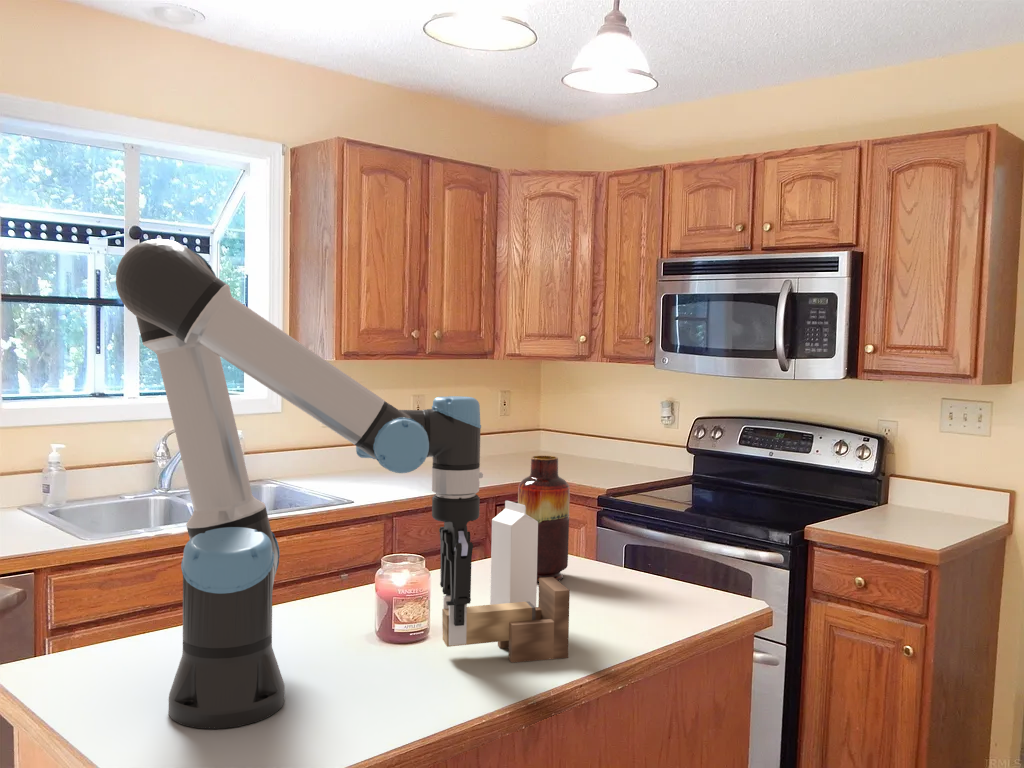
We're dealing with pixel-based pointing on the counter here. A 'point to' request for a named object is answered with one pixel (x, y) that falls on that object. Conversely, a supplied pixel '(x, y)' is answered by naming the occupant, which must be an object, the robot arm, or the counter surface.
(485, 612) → the wooden block
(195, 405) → the robot arm
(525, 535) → the milk
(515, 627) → the brown wooden blocks
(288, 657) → the counter surface
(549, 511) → the vase
